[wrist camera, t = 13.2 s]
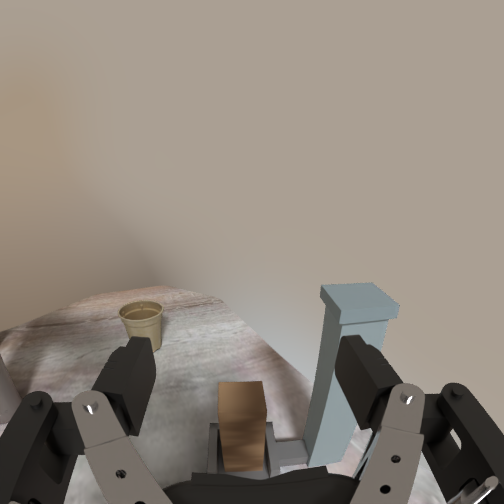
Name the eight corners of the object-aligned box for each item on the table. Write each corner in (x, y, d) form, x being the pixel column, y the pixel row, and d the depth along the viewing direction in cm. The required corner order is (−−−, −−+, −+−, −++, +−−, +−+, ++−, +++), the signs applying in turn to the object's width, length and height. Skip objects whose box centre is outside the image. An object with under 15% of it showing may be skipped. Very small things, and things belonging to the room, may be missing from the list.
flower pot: (120, 341, 54) (112, 305, 51) (157, 330, 60) (153, 296, 57) (134, 364, 47) (125, 325, 45) (176, 350, 53) (171, 312, 50)
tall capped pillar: (210, 483, 24) (181, 323, 18) (212, 437, 32) (195, 281, 26) (348, 470, 25) (407, 311, 19) (332, 428, 33) (366, 278, 27)
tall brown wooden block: (224, 471, 26) (217, 412, 22) (224, 445, 30) (218, 382, 27) (262, 470, 26) (266, 410, 23) (259, 444, 30) (262, 381, 27)
